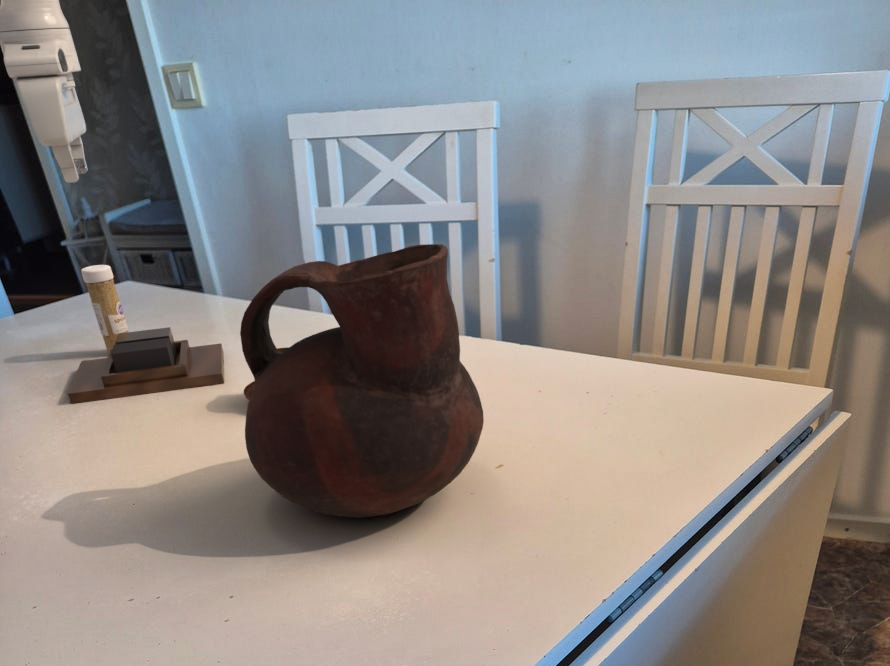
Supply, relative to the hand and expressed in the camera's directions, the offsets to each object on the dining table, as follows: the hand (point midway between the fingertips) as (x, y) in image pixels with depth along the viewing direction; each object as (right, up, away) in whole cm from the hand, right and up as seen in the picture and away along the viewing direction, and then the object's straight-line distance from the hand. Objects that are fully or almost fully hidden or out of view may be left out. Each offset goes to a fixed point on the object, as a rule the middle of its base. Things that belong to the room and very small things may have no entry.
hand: (77, 177), depth 118 cm
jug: (+45, -49, -25) cm, 71 cm away
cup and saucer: (+30, -31, +1) cm, 43 cm away
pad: (+6, -24, +10) cm, 27 cm away
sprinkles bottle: (-4, -16, +24) cm, 30 cm away
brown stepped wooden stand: (+6, -24, +13) cm, 28 cm away
